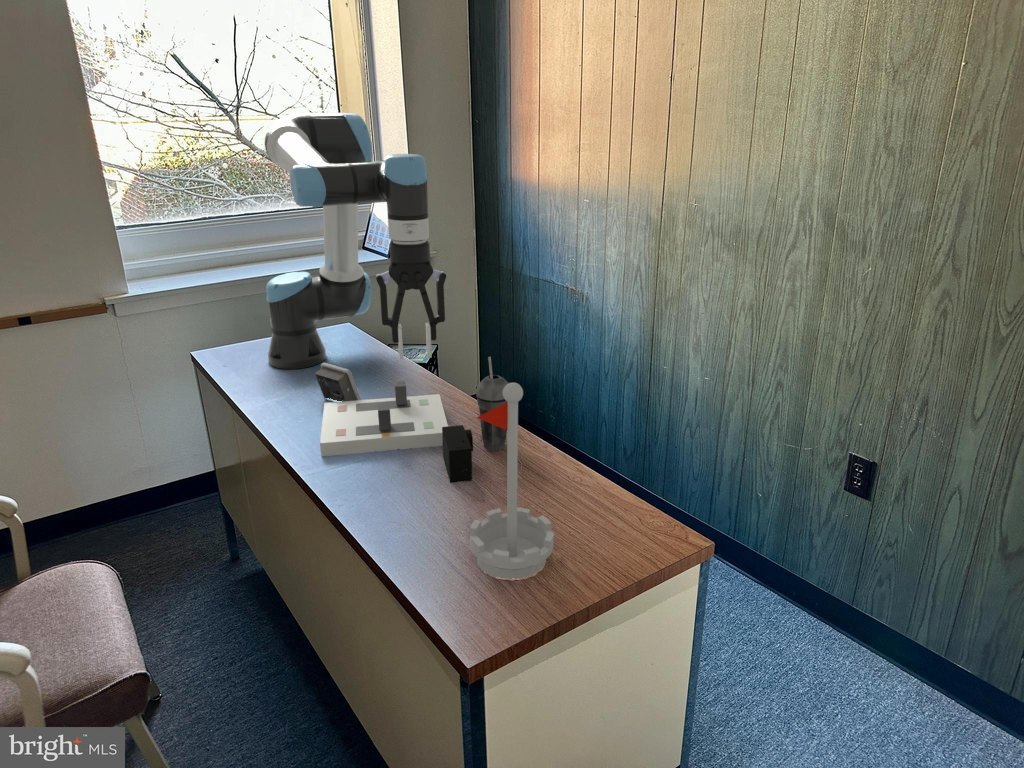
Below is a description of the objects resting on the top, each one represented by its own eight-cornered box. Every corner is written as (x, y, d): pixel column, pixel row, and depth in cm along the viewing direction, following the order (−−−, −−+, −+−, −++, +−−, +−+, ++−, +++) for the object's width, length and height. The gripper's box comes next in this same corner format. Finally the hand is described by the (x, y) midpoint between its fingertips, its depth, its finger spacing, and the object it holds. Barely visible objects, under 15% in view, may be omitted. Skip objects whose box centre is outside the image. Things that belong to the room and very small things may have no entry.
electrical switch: (361, 402, 165) (356, 367, 160) (346, 411, 161) (339, 375, 157) (333, 393, 169) (327, 359, 165) (318, 402, 166) (311, 367, 161)
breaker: (395, 399, 157) (394, 381, 156) (406, 398, 158) (405, 380, 156) (396, 405, 154) (395, 386, 153) (407, 404, 155) (406, 386, 153)
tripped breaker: (378, 423, 146) (377, 404, 144) (390, 422, 146) (389, 403, 144) (379, 430, 143) (377, 410, 141) (391, 429, 143) (389, 409, 142)
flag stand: (545, 532, 116) (550, 364, 105) (560, 582, 104) (567, 399, 93) (467, 537, 115) (464, 368, 103) (473, 588, 103) (469, 404, 91)
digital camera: (478, 480, 132) (478, 447, 129) (450, 483, 131) (449, 450, 128) (469, 454, 141) (469, 423, 138) (443, 457, 140) (441, 426, 137)
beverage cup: (518, 445, 145) (519, 355, 137) (494, 457, 140) (494, 364, 132) (493, 434, 149) (493, 346, 142) (469, 445, 144) (467, 355, 137)
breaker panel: (325, 414, 158) (324, 402, 157) (439, 405, 163) (439, 393, 162) (321, 456, 140) (319, 442, 139) (450, 445, 145) (449, 431, 144)
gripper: (360, 246, 126) (370, 365, 135) (459, 242, 129) (462, 359, 138) (360, 238, 133) (369, 352, 142) (454, 235, 136) (457, 347, 145)
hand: (415, 356), depth 140 cm, fingers open, 5 cm apart
